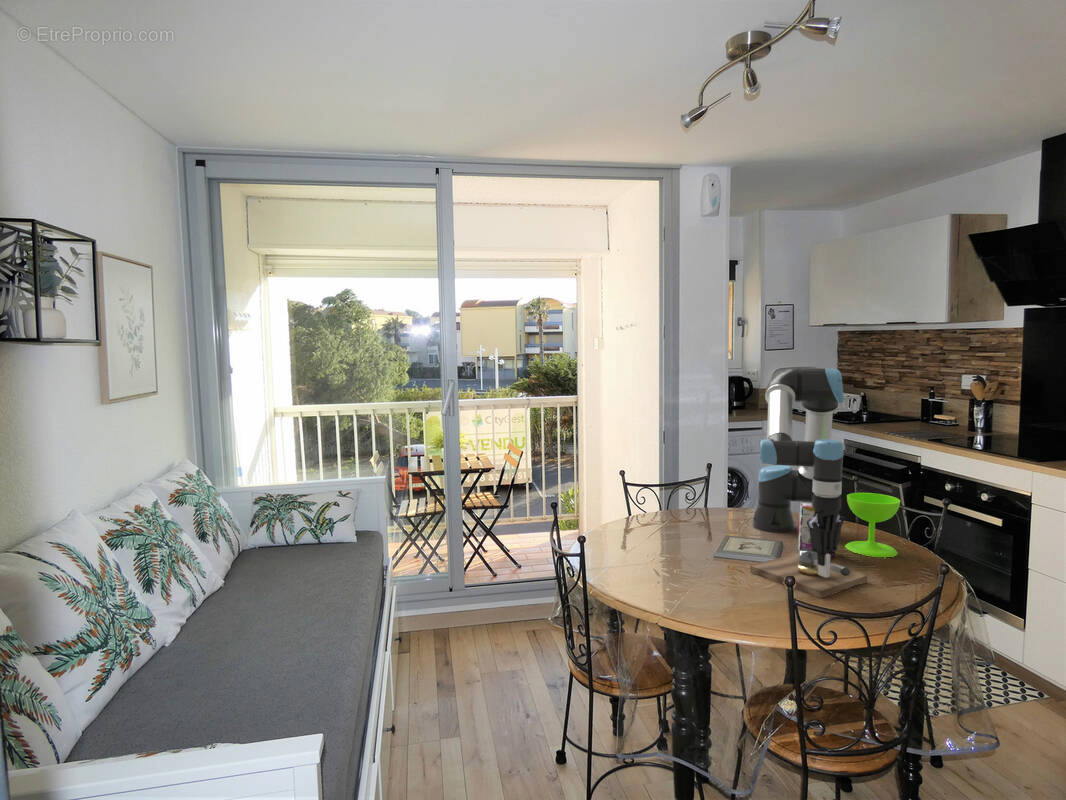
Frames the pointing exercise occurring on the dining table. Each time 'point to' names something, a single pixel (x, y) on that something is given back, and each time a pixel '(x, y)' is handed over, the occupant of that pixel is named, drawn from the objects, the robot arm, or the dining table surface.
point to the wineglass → (872, 521)
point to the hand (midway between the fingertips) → (823, 575)
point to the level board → (806, 576)
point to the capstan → (816, 564)
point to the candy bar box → (805, 526)
